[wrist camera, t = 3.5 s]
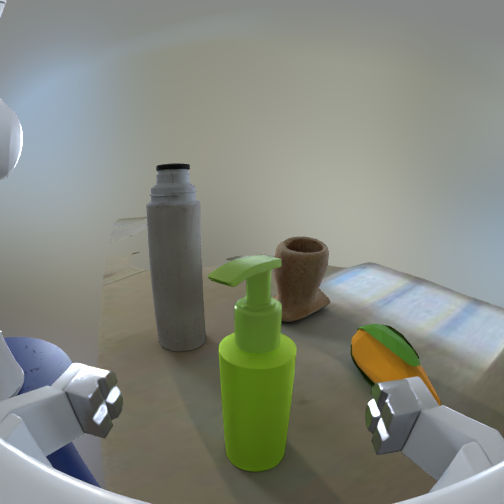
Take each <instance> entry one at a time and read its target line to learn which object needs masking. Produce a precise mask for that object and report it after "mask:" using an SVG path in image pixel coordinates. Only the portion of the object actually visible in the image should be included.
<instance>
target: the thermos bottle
mask: <svg viewBox="0 0 504 504" xmlns="http://www.w3.org/2000/svg"><path fill="white" fill-rule="evenodd" d="M189 169H190V165H189V164H179V163H174V164H163V165H158V166H157V167H156V170H157V171H158V174H157V183H156V185H155V186H153V187H152V188H151V195H150V196H151V202H150V203H148V204H147V226H148V244H149V258H150V270H151V281H152V291H153V300H154V308H155V316H156V324H157V331H158V338H159V343H160V344H161V345H162V346H163V347H164V348H166V349H169V350H173V351H188V350H192V349H195V348H197V347H199V346H201V345H202V344H203V343H204V342H205V339H206V334H205V319H204V302H203V282H202V258H201V226H200V225H201V224H200V202H199V201H197V200H196V199H195V192H196V191H195V186H193V185H192V184H191V183H190V182H189V173H188V170H189Z"/></svg>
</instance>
